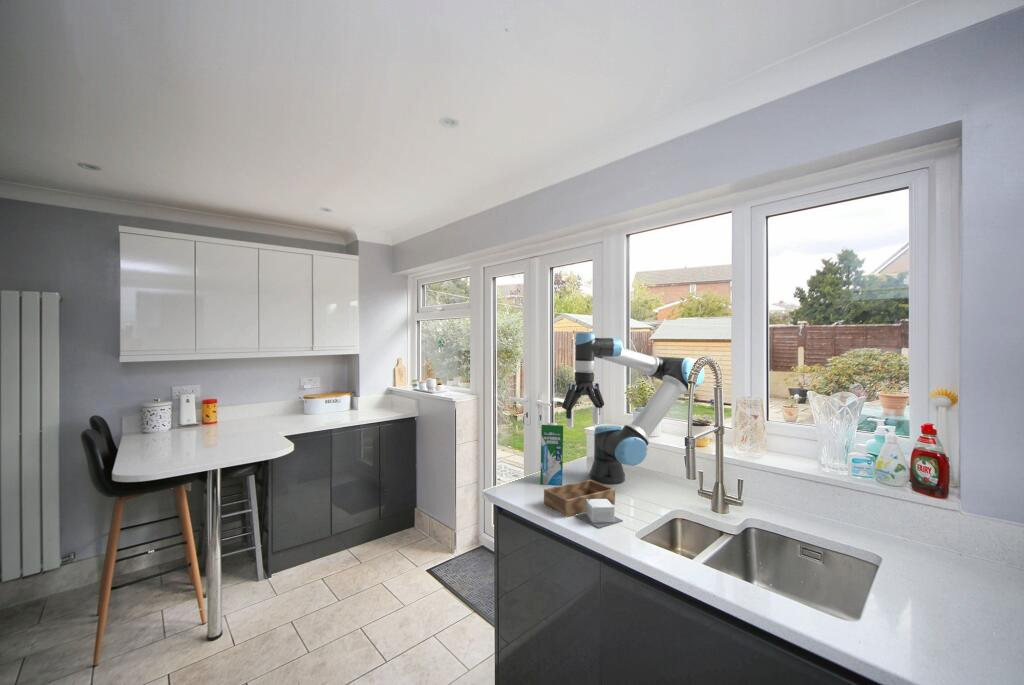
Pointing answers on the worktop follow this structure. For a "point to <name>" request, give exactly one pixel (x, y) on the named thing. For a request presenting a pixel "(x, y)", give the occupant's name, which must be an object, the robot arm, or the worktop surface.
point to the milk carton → (551, 454)
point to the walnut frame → (576, 496)
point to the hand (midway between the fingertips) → (583, 425)
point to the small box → (599, 510)
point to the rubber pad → (598, 525)
